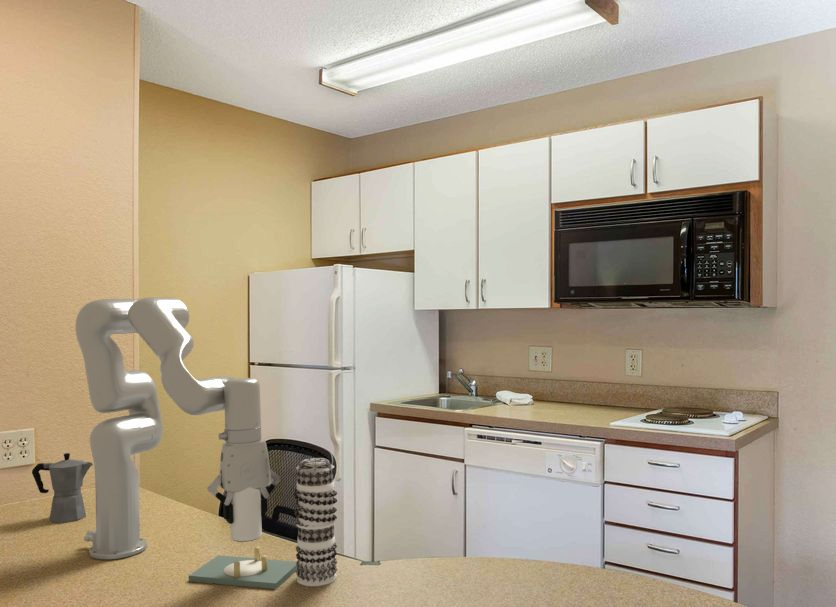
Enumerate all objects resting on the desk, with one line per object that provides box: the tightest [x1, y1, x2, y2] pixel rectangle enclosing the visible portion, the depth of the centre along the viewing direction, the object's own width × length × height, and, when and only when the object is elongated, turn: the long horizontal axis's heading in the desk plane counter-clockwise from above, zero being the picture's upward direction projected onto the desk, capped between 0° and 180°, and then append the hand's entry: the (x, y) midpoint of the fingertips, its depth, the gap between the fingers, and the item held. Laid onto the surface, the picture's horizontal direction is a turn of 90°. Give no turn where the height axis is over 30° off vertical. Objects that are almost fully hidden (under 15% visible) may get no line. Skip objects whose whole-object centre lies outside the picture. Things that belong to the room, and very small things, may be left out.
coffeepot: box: [31, 452, 94, 524], centre depth 192 cm, size 15×9×18 cm, turn 103°
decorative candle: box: [293, 457, 338, 587], centre depth 147 cm, size 9×9×25 cm
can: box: [230, 487, 263, 543], centre depth 149 cm, size 6×6×12 cm
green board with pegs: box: [188, 546, 297, 590], centre depth 150 cm, size 20×12×4 cm, turn 76°
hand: (246, 518), depth 149 cm, fingers closed on can, 6 cm apart
